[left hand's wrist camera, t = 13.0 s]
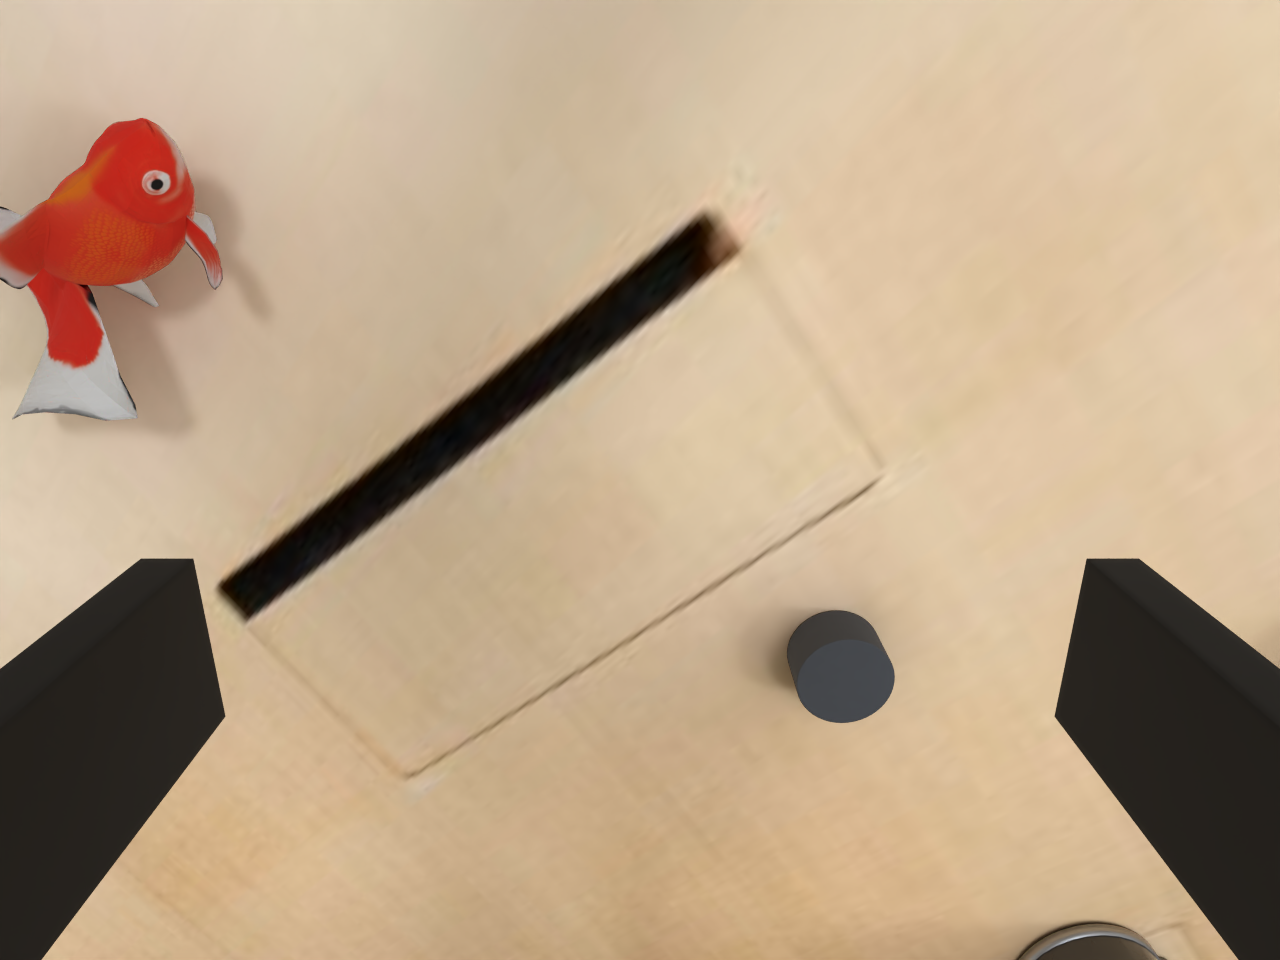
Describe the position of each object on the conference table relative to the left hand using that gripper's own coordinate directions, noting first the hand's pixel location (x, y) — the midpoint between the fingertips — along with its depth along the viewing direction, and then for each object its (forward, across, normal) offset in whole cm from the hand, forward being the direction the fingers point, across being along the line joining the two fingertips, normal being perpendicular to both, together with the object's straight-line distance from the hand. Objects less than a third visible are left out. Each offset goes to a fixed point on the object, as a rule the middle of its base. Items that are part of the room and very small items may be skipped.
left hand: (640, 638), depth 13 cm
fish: (+29, -23, +2) cm, 37 cm away
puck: (+29, +10, -18) cm, 35 cm away
